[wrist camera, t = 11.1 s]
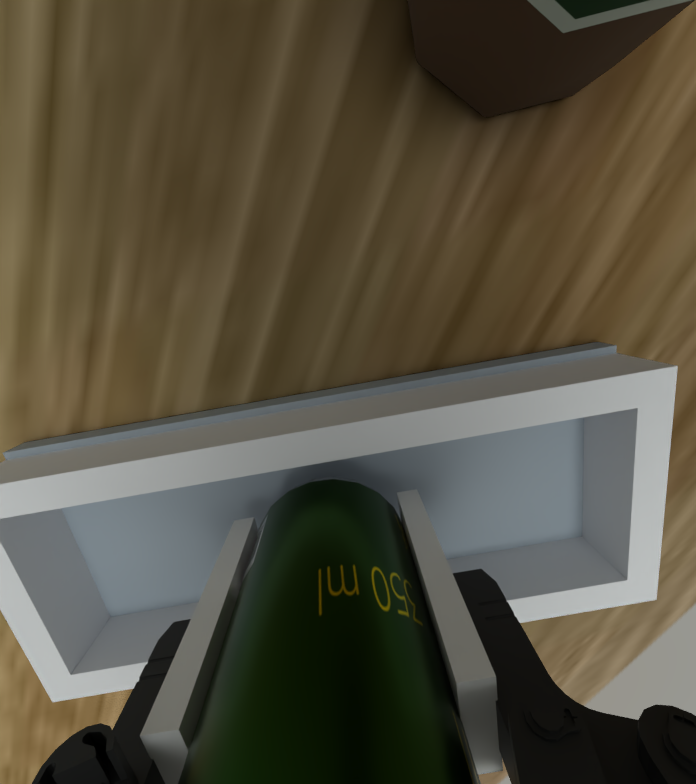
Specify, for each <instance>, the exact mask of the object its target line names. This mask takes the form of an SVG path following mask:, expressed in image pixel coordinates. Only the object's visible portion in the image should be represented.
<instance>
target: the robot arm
mask: <svg viewBox="0 0 696 784" xmlns="http://www.w3.org/2000/svg"><path fill="white" fill-rule="evenodd" d="M397 498H398V505H399V512H400V518H401V522H402V524H403V527H404V531H405V534H406V537H407V541H408V544H409V548H410V551H411V554H412V558H413V561H414V564H415V568H416V571H417V574H418V578H419V581H420V585H421V588H422V591H423V595H424V598H425V601H426V605H427V608H428V612H429V615H430V618H431V622H432V625H433V628H434V632H435V635H436V638H437V642H438V645H439V649H440V652H441V655H442V659H443V662H444V665H445V669H446V672H447V676H448V679H449V682H450V686H451V689H452V692H453V696H454V699H455V702H456V706H457V709H458V713H459V716H460V719H461V721H462V723H463V727H464V730H465V733H466V737H467V740H468V743H469V747H470V750H471V753H472V757H473V760H474V763H475V767H476V770H477V773H478V775H479V774H485V773H491V772H497V771H503V766H502V759H503V761H504V764H505V767H506V770H507V772H508V775H509V778H510V781H511V783H512V784H696V716H695V715H693V714H692V713H689V712H686V711H683V710H681V709H679V708H676V707H673V706H666V705H654V706H651V707H649V708H647V709H644V711H643V713H642V715H641V716H640V718H639V720H635V719H630V718H625V717H620V716H615V715H610V714H606V713H601V712H598V711H595V710H591V709H588V708H587V707H585V706H583V705H581V704H579V703H577V702H575V701H574V700H573V699H571V698H570V697H569V696H567V695H566V694H565V693H564V692H563V691H562V690H561V689H560V688H559V687H558V686H557V685H556V684H555V683H554V681H553V680H552V679H551V677H550V676H549V674H548V673H547V671H546V669H545V667H544V665H543V664H542V662H541V660H540V658H539V657H538V655H537V653H536V651H535V649H534V648H533V646H532V644H531V642H530V641H529V639H528V637H527V635H526V633H525V632H524V630H523V628H522V626H521V625H520V623H519V621H518V619H517V617H515V615H514V612H513V610H512V609H511V607H510V605H509V603H508V602H507V601H506V598H505V596H504V594H503V593H502V591H501V589H500V587H499V585H498V584H497V582H496V581H495V580H494V579H493V578H492V577H490V576H489V575H488V574H487V573H486V572H485V571H483V570H482V569H475V570H469V571H463V572H458V573H452V571H451V569H450V566H449V564H448V562H447V559H446V557H445V555H444V552H443V550H442V547H441V545H440V543H439V540H438V538H437V536H436V533H435V531H434V528H433V526H432V524H431V521H430V519H429V517H428V514H427V512H426V510H425V507H424V505H423V502H422V500H421V498H420V495H419V493H418V491H417V489H415V490H409V491H403V492H397ZM257 534H258V528H257V525H256V521H255V518H254V517H252V518H246V519H240V520H234V522H233V524H232V527H231V529H230V531H229V534H228V536H227V538H226V540H225V543H224V545H223V547H222V549H221V552H220V554H219V556H218V559H217V561H216V563H215V565H214V568H213V570H212V572H211V575H210V577H209V579H208V581H207V584H206V586H205V588H204V591H203V593H202V595H201V597H200V600H199V602H198V604H197V606H196V609H195V611H194V613H193V616H192V618H191V619H188V620H182V621H176V622H173V623H172V624H171V626H170V627H169V628H168V629H167V630H166V631H165V633H164V634H163V635H162V636H161V637H160V638H159V640H158V641H157V643H156V645H155V647H154V649H153V651H152V653H151V655H150V657H149V659H148V664H146V665H145V667H144V669H143V671H142V673H141V675H140V677H139V681H138V682H137V683H136V685H135V687H134V689H133V691H132V693H131V695H130V697H129V698H128V700H127V702H126V704H125V706H124V708H123V710H122V712H121V714H120V716H119V718H118V720H117V722H116V724H115V726H114V728H113V730H112V729H111V727H110V726H107V725H104V724H101V723H100V724H96V725H92V726H88V727H86V728H84V729H82V730H81V731H79V732H77V733H75V734H74V735H72V736H71V737H70V738H68V739H67V740H66V741H65V742H64V743H63V744H62V745H60V746H59V747H58V748H57V749H56V750H55V751H54V752H53V753H52V755H51V756H50V757H49V758H48V759H47V761H46V762H45V763H44V764H43V765H42V767H41V768H40V770H39V772H38V774H37V775H36V777H35V779H34V781H33V782H32V784H178V782H179V779H180V776H181V773H182V770H183V767H184V763H185V760H186V757H187V754H188V751H189V748H190V745H191V741H192V738H193V735H194V732H195V729H196V726H197V723H198V719H199V716H200V713H201V710H202V707H203V704H204V701H205V697H206V694H207V691H208V688H209V685H210V682H211V678H212V675H213V672H214V669H215V666H216V663H217V660H218V656H219V653H220V650H221V647H222V644H223V641H224V638H225V634H226V631H227V628H228V625H229V622H230V619H231V616H232V612H233V609H234V606H235V603H236V600H237V597H238V593H239V590H240V587H241V584H242V581H243V578H244V575H245V571H246V568H247V565H248V562H249V559H250V556H251V553H252V549H253V546H254V543H255V540H256V537H257Z"/></svg>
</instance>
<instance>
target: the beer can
mask: <svg viewBox="0 0 696 784" xmlns="http://www.w3.org/2000/svg"><path fill="white" fill-rule="evenodd" d="M178 784H481V783H480V780H479V777H478V773H477V770H476V767H475V763H474V760H473V757H472V753H471V750H470V747H469V743H468V740H467V737H466V733H465V730H464V727H463V723H462V721H461V719H460V716H459V713H458V709H457V706H456V702H455V699H454V696H453V692H452V689H451V686H450V682H449V679H448V676H447V672H446V669H445V665H444V662H443V659H442V655H441V652H440V649H439V645H438V642H437V638H436V635H435V632H434V628H433V625H432V622H431V618H430V615H429V612H428V608H427V605H426V601H425V598H424V595H423V591H422V588H421V585H420V581H419V578H418V574H417V571H416V568H415V564H414V561H413V558H412V554H411V551H410V548H409V544H408V541H407V537H406V534H405V531H404V527H403V524H402V522H401V520H400V518H399V516H398V514H397V512H396V510H395V508H394V507H393V506H392V505H391V504H390V503H389V502H388V501H387V500H386V499H385V498H384V497H383V496H382V495H381V494H380V493H379V492H377V491H375V490H374V489H372V488H371V487H369V486H367V485H365V484H362V483H360V482H358V481H356V480H354V479H349V478H343V477H336V476H331V477H323V478H315V479H312V480H309V481H307V482H305V483H303V484H300V485H298V486H296V487H294V488H293V489H291V490H289V491H288V492H287V493H285V494H284V495H283V496H282V497H281V498H280V499H279V500H277V501H276V502H275V503H274V504H273V505H272V506H271V507H270V509H269V510H268V512H267V514H266V516H265V517H264V519H263V521H262V523H261V525H260V527H259V531H258V534H257V537H256V540H255V543H254V546H253V549H252V553H251V556H250V559H249V562H248V565H247V568H246V571H245V575H244V578H243V581H242V584H241V587H240V590H239V593H238V597H237V600H236V603H235V606H234V609H233V612H232V616H231V619H230V622H229V625H228V628H227V631H226V634H225V638H224V641H223V644H222V647H221V650H220V653H219V656H218V660H217V663H216V666H215V669H214V672H213V675H212V678H211V682H210V685H209V688H208V691H207V694H206V697H205V701H204V704H203V707H202V710H201V713H200V716H199V719H198V723H197V726H196V729H195V732H194V735H193V738H192V741H191V745H190V748H189V751H188V754H187V757H186V760H185V763H184V767H183V770H182V773H181V776H180V779H179V782H178Z"/></svg>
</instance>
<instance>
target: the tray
mask: <svg viewBox="0 0 696 784" xmlns="http://www.w3.org/2000/svg"><path fill="white" fill-rule="evenodd" d="M677 368H678V366H676V365H671V364H667V363H662V362H657V361H652V360H647V359H643V358H638V357H633V356H628V355H623V354H618V353H616V345H612V344H606V343H601V342H594V343H588V344H583V345H577V346H571V347H566V348H560V349H554V350H549V351H543V352H537V353H531V354H526V355H520V356H514V357H509V358H503V359H497V360H492V361H486V362H480V363H474V364H469V365H463V366H457V367H452V368H446V369H440V370H435V371H429V372H423V373H418V374H412V375H406V376H400V377H395V378H389V379H383V380H378V381H372V382H366V383H361V384H355V385H349V386H343V387H338V388H332V389H326V390H321V391H315V392H309V393H304V394H298V395H292V396H286V397H281V398H275V399H269V400H264V401H258V402H252V403H247V404H241V405H235V406H230V407H224V408H218V409H212V410H207V411H201V412H195V413H190V414H184V415H178V416H173V417H167V418H161V419H155V420H150V421H144V422H138V423H133V424H127V425H121V426H116V427H110V428H104V429H99V430H93V431H87V432H81V433H76V434H70V435H64V436H59V437H53V438H47V439H42V440H36V441H30V442H25V443H23V444H20V445H18V446H16V447H14V448H12V449H10V450H8V451H6V452H4V453H3V454H4V457H5V459H6V460H5V461H3V462H1V463H0V610H1V612H2V614H3V615H4V617H5V619H6V621H7V622H8V624H9V626H10V628H11V629H12V631H13V633H14V635H15V637H16V638H17V640H18V642H19V644H20V645H21V647H22V649H23V651H24V653H25V654H26V656H27V658H28V660H29V661H30V663H31V665H32V667H33V669H34V670H35V672H36V674H37V676H38V677H39V679H40V681H41V683H42V685H43V686H44V688H45V690H46V692H47V693H48V695H49V697H50V699H51V700H52V702H57V701H63V700H69V699H75V698H81V697H87V696H92V695H98V694H104V693H110V692H116V691H122V690H128V689H134V687H135V685H136V683H137V682H138V681H139V677H140V675H141V673H142V671H143V669H144V667H145V665H146V664H148V659H149V657H150V655H151V653H152V651H153V649H154V647H155V645H156V643H157V641H158V640H159V638H160V637H161V636H162V635H163V634H164V633H165V631H166V630H167V629H168V628H169V627H170V626H171V624H172V623H173V622H176V621H182V620H188V619H191V618H192V616H193V613H194V611H195V609H196V606H197V604H198V602H199V600H200V597H201V595H202V593H203V591H204V588H205V586H206V584H207V581H208V579H209V577H210V575H211V572H212V570H213V568H214V565H215V563H216V561H217V559H218V556H219V554H220V552H221V549H222V547H223V545H224V543H225V540H226V538H227V536H228V534H229V531H230V529H231V527H232V524H233V522H234V520H240V519H246V518H252V517H254V518H255V521H256V525H257V528H258V531H259V527H260V525H261V523H262V521H263V519H264V517H265V516H266V514H267V512H268V510H269V509H270V507H271V506H272V505H273V504H274V503H275V502H276V501H277V500H279V499H280V498H281V497H282V496H283V495H284V494H285V493H287V492H288V491H289V490H291V489H293V488H294V487H296V486H298V485H300V484H303V483H305V482H307V481H309V480H312V479H315V478H323V477H331V476H336V477H343V478H349V479H354V480H356V481H358V482H360V483H362V484H365V485H367V486H369V487H371V488H372V489H374V490H375V491H377V492H379V493H380V494H381V495H382V496H383V497H384V498H385V499H386V500H387V501H388V502H389V503H390V504H391V505H392V506H393V507H394V508H395V510H396V512H397V514H398V516H399V518H400V512H399V505H398V498H397V492H403V491H409V490H415V489H417V491H418V493H419V495H420V498H421V500H422V502H423V505H424V507H425V510H426V512H427V514H428V517H429V519H430V521H431V524H432V526H433V528H434V531H435V533H436V536H437V538H438V540H439V543H440V545H441V547H442V550H443V552H444V555H445V557H446V559H447V562H448V564H449V566H450V569H451V571H452V573H458V572H463V571H469V570H475V569H482V570H483V571H485V572H486V573H487V574H488V575H489V576H490V577H492V578H493V579H494V580H495V581H496V582H497V584H498V585H499V587H500V589H501V591H502V593H503V594H504V596H505V598H506V601H507V602H508V603H509V605H510V607H511V609H512V610H513V612H514V615H515V617H517V619H518V621H519V623H522V622H528V621H534V620H540V619H546V618H552V617H558V616H564V615H569V614H575V613H581V612H587V611H593V610H599V609H605V608H611V607H617V606H622V605H628V604H634V603H640V602H646V601H652V600H656V599H657V588H658V577H659V566H660V555H661V544H662V533H663V522H664V511H665V500H666V489H667V478H668V467H669V456H670V445H671V434H672V423H673V412H674V401H675V390H676V379H677ZM400 520H401V518H400Z"/></svg>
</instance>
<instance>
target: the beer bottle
mask: <svg viewBox="0 0 696 784" xmlns="http://www.w3.org/2000/svg"><path fill="white" fill-rule="evenodd" d="M693 1H694V0H408V6H409V12H410V19H411V26H412V33H413V40H414V47H415V54H416V60H417V62H418V63H419V64H420V65H421V66H422V67H424V68H425V69H426V70H427V71H429V72H430V73H431V74H432V75H433V76H435V77H436V78H437V79H438V80H440V81H441V82H442V83H443V84H444V85H446V86H447V87H448V88H449V89H451V90H452V91H453V92H454V93H455V94H457V95H458V96H459V97H460V98H462V99H463V100H464V101H465V102H466V103H468V104H469V105H470V106H471V107H473V108H474V109H475V110H476V111H477V112H479V113H480V114H481V115H482V116H484V117H490V116H494V115H498V114H502V113H506V112H510V111H514V110H518V109H522V108H526V107H530V106H534V105H538V104H542V103H546V102H550V101H554V100H558V99H561V98H565V97H569V96H573V95H574V94H575V93H577V92H578V91H580V90H581V89H582V88H584V87H585V86H587V85H588V84H589V83H591V82H592V81H594V80H595V79H596V78H598V77H599V76H601V75H602V74H603V73H605V72H606V71H608V70H609V69H610V68H612V67H613V66H615V65H616V64H617V63H618V62H620V61H621V60H622V59H623V58H624V57H626V56H627V55H628V54H629V53H631V52H632V51H633V50H634V49H635V48H637V47H638V46H639V45H640V44H642V43H643V42H644V41H645V40H647V39H648V38H649V37H650V36H651V35H653V34H654V33H655V32H656V31H658V30H659V29H660V28H661V27H663V26H664V25H665V24H666V23H667V22H669V21H670V20H671V19H672V18H674V17H675V16H676V15H677V14H679V13H680V12H681V11H682V10H683V9H685V8H686V7H687V6H688V5H690V4H691V3H692V2H693Z"/></svg>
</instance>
